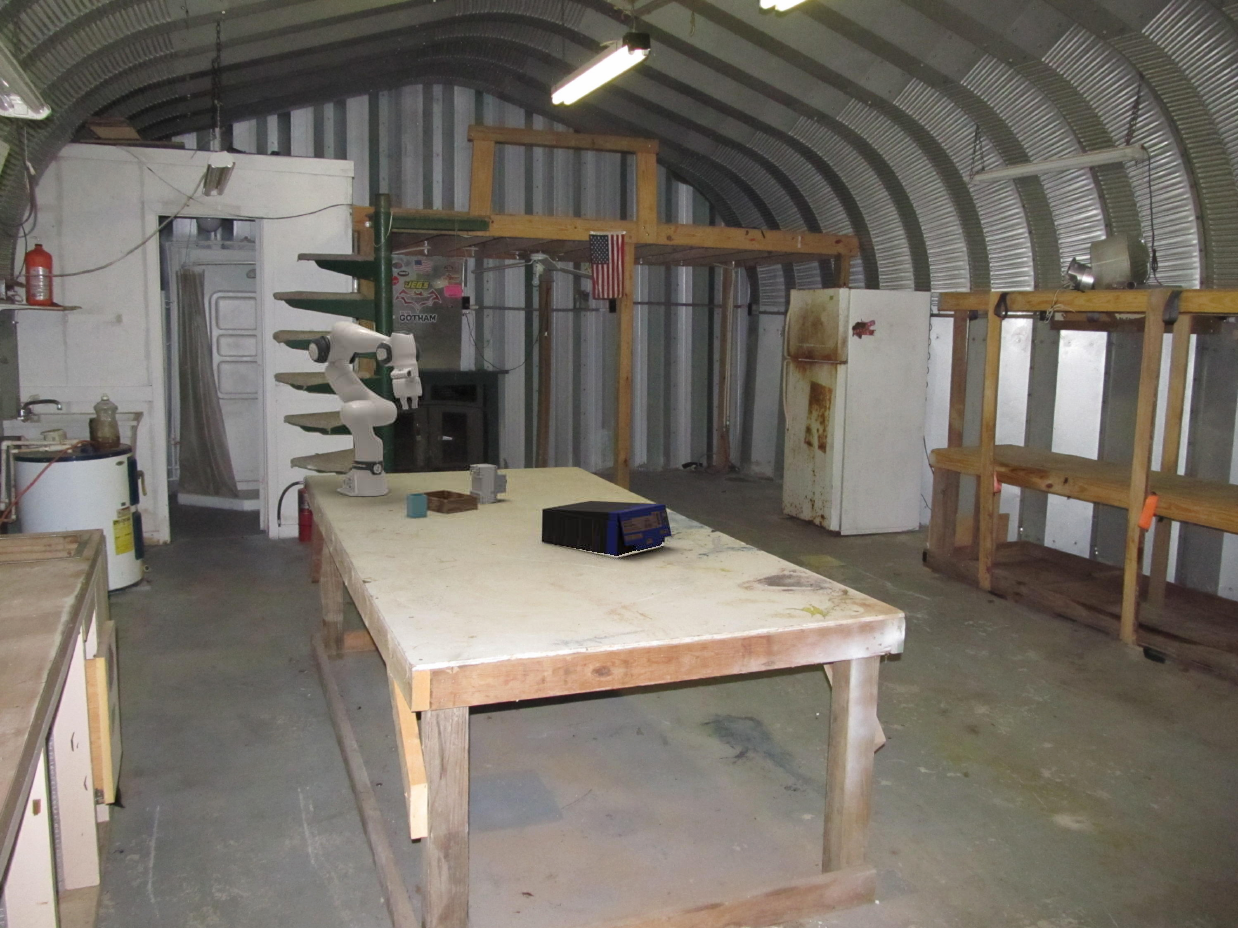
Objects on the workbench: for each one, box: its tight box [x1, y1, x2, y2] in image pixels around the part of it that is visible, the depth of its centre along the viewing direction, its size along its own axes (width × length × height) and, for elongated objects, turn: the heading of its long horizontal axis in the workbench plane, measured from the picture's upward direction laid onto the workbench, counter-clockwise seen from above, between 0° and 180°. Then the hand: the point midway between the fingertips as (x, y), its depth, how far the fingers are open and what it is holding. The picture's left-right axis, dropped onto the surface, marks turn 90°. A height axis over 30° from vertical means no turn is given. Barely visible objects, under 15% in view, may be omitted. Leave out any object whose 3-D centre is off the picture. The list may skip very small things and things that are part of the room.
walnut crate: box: [415, 489, 479, 515], centre depth 362 cm, size 20×16×5 cm
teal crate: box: [406, 492, 428, 519], centre depth 343 cm, size 6×6×8 cm
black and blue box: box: [541, 500, 673, 556], centre depth 304 cm, size 25×35×14 cm
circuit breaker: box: [469, 463, 508, 505], centre depth 379 cm, size 8×14×15 cm, turn 133°
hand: (410, 408), depth 363 cm, fingers open, 8 cm apart
